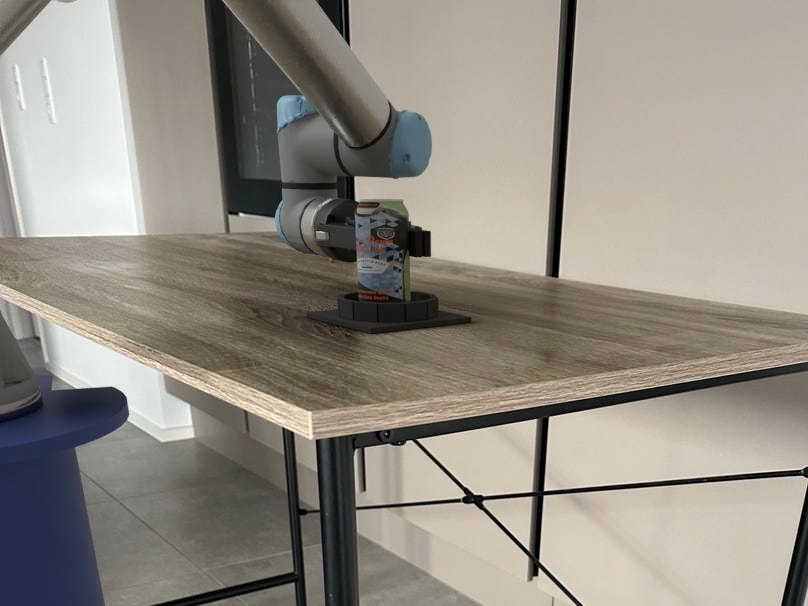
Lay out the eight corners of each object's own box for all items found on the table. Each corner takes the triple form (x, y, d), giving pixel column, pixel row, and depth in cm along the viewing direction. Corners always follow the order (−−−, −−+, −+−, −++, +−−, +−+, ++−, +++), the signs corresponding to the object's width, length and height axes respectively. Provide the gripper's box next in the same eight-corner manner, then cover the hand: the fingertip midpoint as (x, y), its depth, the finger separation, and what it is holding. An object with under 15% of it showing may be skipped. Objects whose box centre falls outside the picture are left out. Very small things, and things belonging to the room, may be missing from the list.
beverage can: (351, 314, 110) (330, 203, 104) (398, 299, 115) (381, 192, 108) (384, 317, 106) (365, 202, 100) (432, 302, 110) (416, 190, 104)
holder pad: (371, 333, 102) (370, 308, 101) (306, 317, 112) (304, 294, 111) (471, 322, 110) (471, 298, 109) (403, 307, 120) (402, 286, 118)
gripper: (386, 258, 129) (474, 276, 111) (293, 262, 122) (370, 282, 105) (384, 197, 125) (475, 206, 107) (288, 199, 119) (367, 208, 101)
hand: (423, 244), depth 106 cm, fingers closed on beverage can
